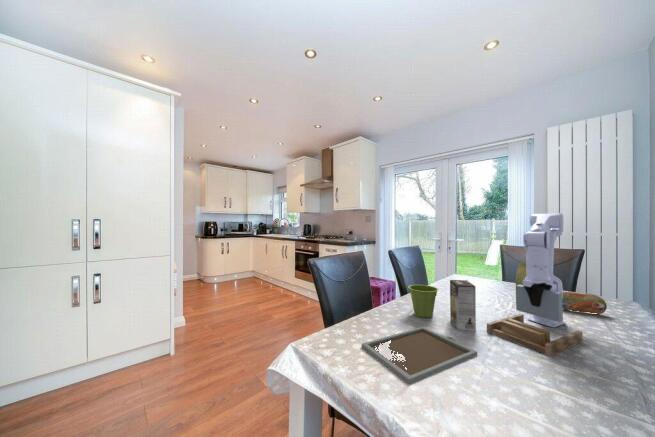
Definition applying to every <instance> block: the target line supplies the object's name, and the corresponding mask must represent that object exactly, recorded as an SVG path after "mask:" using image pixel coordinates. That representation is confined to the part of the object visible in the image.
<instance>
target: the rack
mask: <svg viewBox="0 0 655 437" xmlns="http://www.w3.org/2000/svg"><path fill="white" fill-rule="evenodd" d="M524 316H525V314H523V313H518V314H514V315H511V316H507V317H505V318H504V317H503V318H500V319H498V320H497V319H496V320H493V321H490V322H488V323H486V333H489V334H492V335H495V336H498V337H500V338H502V339H505V340H508V341H511V342H513V343H515V344H518V345H521V346H524V347H526V348H529V349H531V350H534V351H535V352H536V351H537V352H539V353H542V354H544V355H545V356H548V357H553V356H554V355H557V354H559V353H562V352H563V351H565V350H567V349H570V348H571V347H573V346H575V345H578V344H579V343H581V342H583V339H584V338H583V331H582V330H577V329H576V330H574V331H572V332H569V333H568V334H565V335H563V336H560V337H558V338H555V339H554V340H550V342H549V343H546V344H545V347H543V346H540V345H538V344H535V343H532V342H529V341H527V340H524V339H521V338H519V337H516V336H513V335H510V334H508V333H505V332H502V321H507V320H508V319H513V320H516V321H519V322H522V323H525V321H524V320H525V317H524Z"/></svg>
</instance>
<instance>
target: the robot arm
mask: <svg viewBox="0 0 655 437" xmlns="http://www.w3.org/2000/svg"><path fill="white" fill-rule="evenodd" d="M529 224H530V228H529V231H526V232H524V234H523V240H522V242H523V246H524V253H525V262H526V276H527V277H526V278H525V280H523V287H524V288H525V290H526V291H527V293H528V296H529V299H530V302H531V305H533V306H537V307H540V304H541V297H542V294H543V291H544V290H550V291H555V292H560V293H562V299H563V292H564V289H563V282H562V280H561V279H560V278H559V277H557V276H556V275H554V259H555V258H554V257H555V242H556V239H557V238H558V237H560V236H562V235H563V233H564V214H563V213H561V212H557V213H554V212H553V213H532V214H531V215H530V217H529ZM528 321H531V322H534V323H536V324H540V325H544V326H548V327H551V328H556V327H558V326H561V325H564V324H566V321H564V320H563V321H561V322H557V321H554V320H550V319H546V318H543V317H539V316H536V315H532V317H529V318H528Z"/></svg>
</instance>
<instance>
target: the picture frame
mask: <svg viewBox="0 0 655 437" xmlns="http://www.w3.org/2000/svg"><path fill="white" fill-rule="evenodd" d="M390 340H391V343H390V344H389V346H390V347H388V348H389V349H390V350H392V351H391V354H392V353H393V351H395V352H394V355H395V354H397V352H398V354H402V355H403V356H404V357H405V360H406V361H404V360H402V361H404V362H402V361H400V360H398V361H397V358H398V357H397V356H396V355H395V356H396V357H397V358H395V357H394V356H392V357H394V358H395V359H396V360H395V361H394V358H392V359H393V360H392V361H391V359H390V360H388V359H387V358H385V357H384V356H383V355H381V354H380V353H379V351H376V350H377V349H378V347H379V345H380V343H381V344H382V343H385V342H388V341H390ZM382 345H383V344H382ZM375 346H376V347H377V349H376V350H375V348H376V347H375ZM361 348H362V349H363V348H364V349H363V350H364V351H366V352H367V353H368V352H369V354H370V355H371V356H372V357H374V359H376V360H377V359H378V360H377V361H379V362H380V361H381V362H382V363H381V362H380V363H381V364H383V365H384V364H385V365H386V366H387V368H388V369H389V368H390V369H391V370H390V369H389V370H390V371H391V372H393V373H394V372H395V373H396V374H395V373H394V374H395V375H396V376H398V377H399V376H400V377H399V378H401V379H402V380H403V379H404V380H405V381H404V380H403V381H404V382H406V383H407V384H408V383H409V385H410V384H413V383H415V382H417V381H419V380H421V379H424V378H426V377H430V376H432V375H433V374H436V373H438V372H441V371H444V370H446V369H449V368H450V367H452V366H455V365H457V364H460V363H462V362H465V361H467V360H470V359H472V358H473V357H476V356H478V351H477V350H475V349H473V348H470V347H468V346H466V345H464V344H462V343H460V342H458V341H456V339H455V338H454V337H452V336H448V335H443V334H441V333H438V332H436V331H434V330H433V329H430V328H428V327H426V326H419V327H416V328H414V329H410V330H407V331H403V332H398V333H396V334H390V335H387V336H384V337H381V338H378V339H373V340H370V341H366V342H362V343H361ZM378 350H379V349H378ZM399 357H400V356H399ZM401 358H402V357H401ZM399 361H400V362H399ZM394 363H395V364H394ZM385 365H384V366H385ZM403 365H404V366H403ZM405 367H406V368H407V370H406V369H405Z"/></svg>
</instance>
